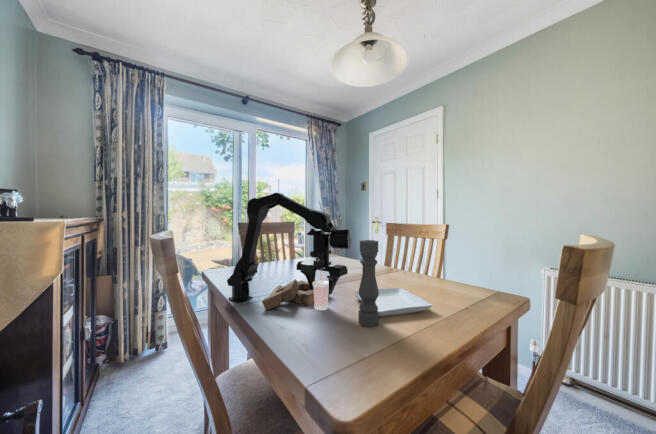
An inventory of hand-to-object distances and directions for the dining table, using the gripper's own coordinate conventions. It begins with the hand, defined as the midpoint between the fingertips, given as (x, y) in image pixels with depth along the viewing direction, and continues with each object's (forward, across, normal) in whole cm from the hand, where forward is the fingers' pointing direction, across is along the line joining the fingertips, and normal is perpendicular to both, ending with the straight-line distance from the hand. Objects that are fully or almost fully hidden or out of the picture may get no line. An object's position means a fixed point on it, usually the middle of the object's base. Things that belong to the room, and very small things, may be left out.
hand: (321, 292), depth 87 cm
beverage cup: (+6, 0, 0) cm, 6 cm away
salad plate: (+6, +19, +16) cm, 26 cm away
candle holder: (+6, +19, -1) cm, 20 cm away
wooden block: (+2, -10, -11) cm, 15 cm away
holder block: (+6, -12, +5) cm, 14 cm away
